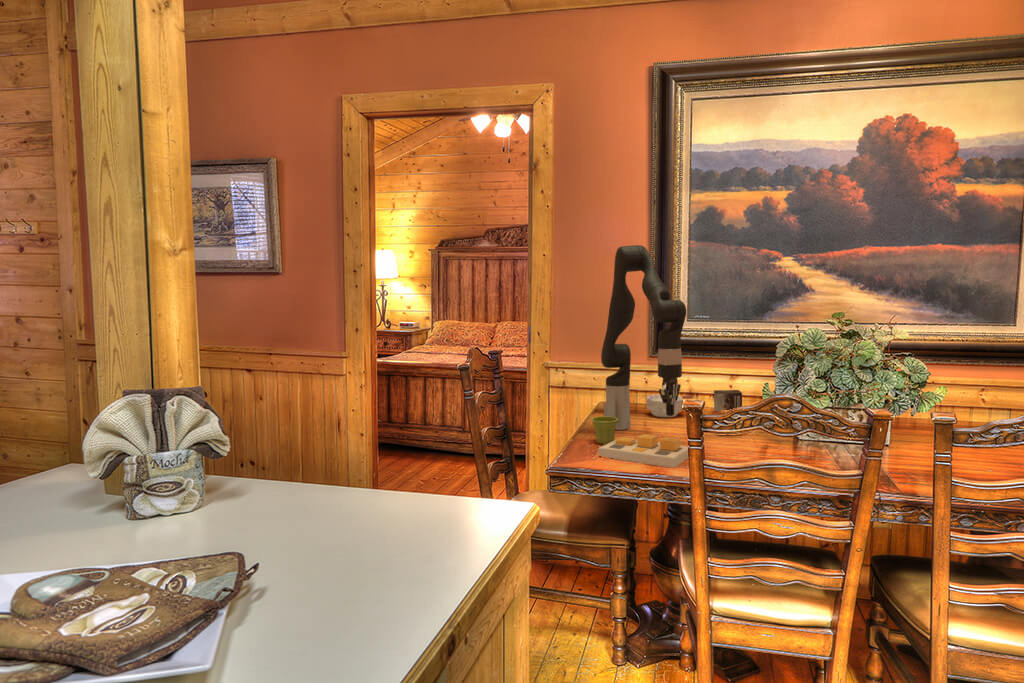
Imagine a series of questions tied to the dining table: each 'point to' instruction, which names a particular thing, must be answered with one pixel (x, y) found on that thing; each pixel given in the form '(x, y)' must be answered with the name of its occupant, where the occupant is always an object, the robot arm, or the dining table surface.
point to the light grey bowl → (662, 406)
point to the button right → (670, 443)
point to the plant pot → (604, 428)
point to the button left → (625, 441)
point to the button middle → (647, 440)
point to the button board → (645, 454)
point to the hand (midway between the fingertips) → (670, 415)
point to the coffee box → (727, 401)
